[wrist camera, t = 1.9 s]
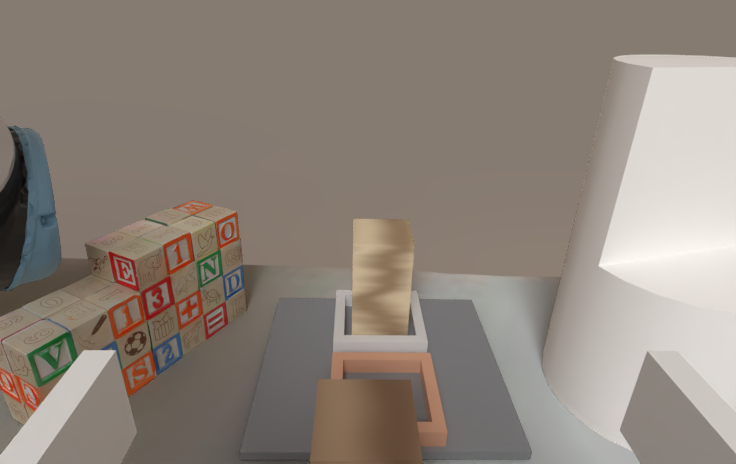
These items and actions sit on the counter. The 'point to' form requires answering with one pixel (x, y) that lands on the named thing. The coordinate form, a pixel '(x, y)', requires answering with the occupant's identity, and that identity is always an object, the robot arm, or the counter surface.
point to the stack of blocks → (129, 304)
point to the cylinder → (650, 239)
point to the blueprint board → (389, 362)
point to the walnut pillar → (365, 423)
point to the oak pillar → (381, 276)
